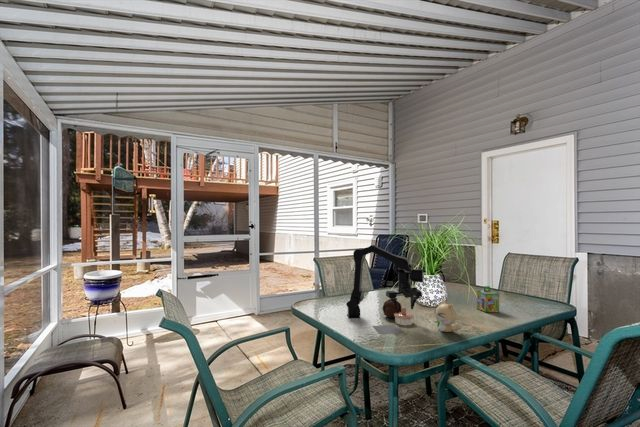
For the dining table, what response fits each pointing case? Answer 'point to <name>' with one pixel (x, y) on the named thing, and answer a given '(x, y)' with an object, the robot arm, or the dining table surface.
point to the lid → (404, 314)
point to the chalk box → (487, 300)
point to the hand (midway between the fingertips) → (404, 309)
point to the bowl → (403, 321)
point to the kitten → (446, 317)
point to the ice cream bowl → (391, 308)
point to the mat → (387, 329)
